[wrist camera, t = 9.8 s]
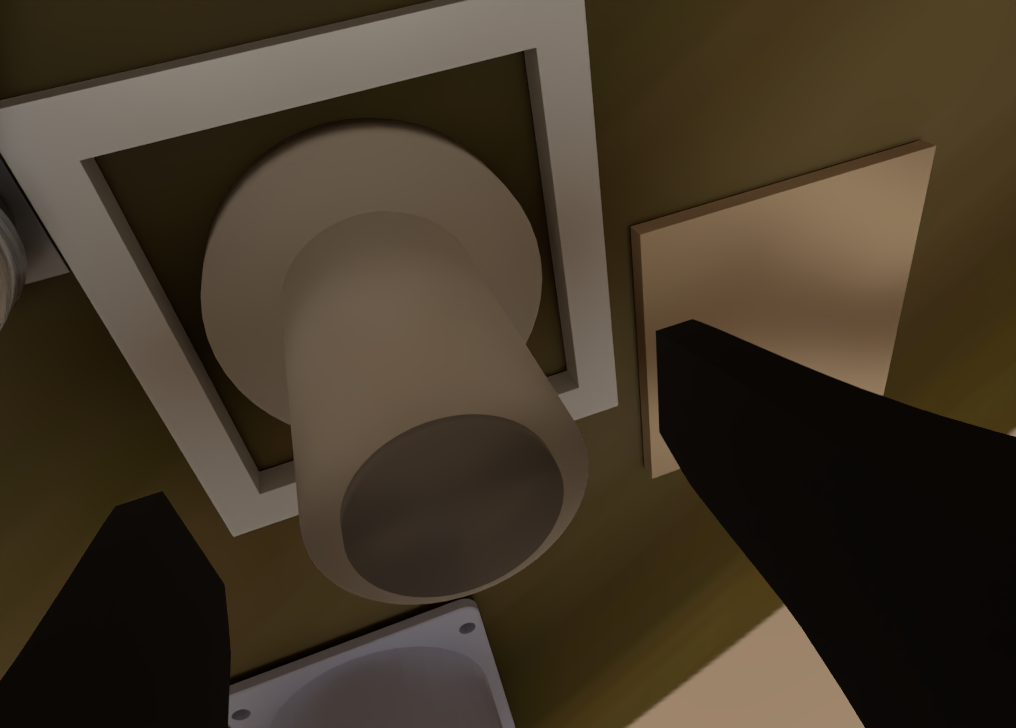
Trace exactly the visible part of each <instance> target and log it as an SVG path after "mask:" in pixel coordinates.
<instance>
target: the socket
mask: <svg viewBox="0 0 1016 728" xmlns="http://www.w3.org/2000/svg"><path fill="white" fill-rule="evenodd" d="M520 51H524V56H525V64H526V71H527V78H528V86H529V93H530V101H531V108H532V115H533V123H534V130H535V137H536V145H537V152H538V160H539V167H540V174H541V182H542V189H543V196H544V204H545V211H546V218H547V226H548V233H549V241H550V248H551V255H552V263H553V270H554V277H555V285H556V292H557V300H558V307H559V314H560V322H561V329H562V336H563V344H564V351H565V358H566V366H567V371H564V372H561V373H558V374H555V375H552V376H549V377H547V379H548V380H549V382H550V383H551V385H552V387H553V388H554V390H555V391H556V393H557V394H558V396H559V398H560V399H561V401H562V402H563V404H564V405H565V407H566V409H567V410H568V412H569V413H570V415H571V416H572V418H573V420H574V421H575V420H577V419H580V418H583V417H586V416H589V415H592V414H595V413H598V412H601V411H604V410H607V409H610V408H613V407H616V406H618V397H617V385H616V373H615V361H614V349H613V337H612V325H611V313H610V301H609V289H608V278H607V266H606V254H605V242H604V230H603V218H602V206H601V194H600V182H599V170H598V158H597V146H596V134H595V122H594V110H593V98H592V86H591V74H590V62H589V50H588V38H587V26H586V15H585V3H584V0H433V1H429V2H425V3H420V4H416V5H412V6H407V7H403V8H399V9H394V10H390V11H386V12H381V13H377V14H373V15H368V16H364V17H360V18H355V19H351V20H347V21H342V22H338V23H334V24H329V25H325V26H321V27H316V28H312V29H307V30H303V31H299V32H294V33H290V34H286V35H281V36H277V37H273V38H268V39H264V40H260V41H255V42H251V43H247V44H242V45H238V46H234V47H229V48H225V49H221V50H216V51H212V52H208V53H203V54H199V55H195V56H190V57H186V58H182V59H177V60H173V61H169V62H164V63H160V64H156V65H151V66H147V67H143V68H138V69H134V70H130V71H125V72H121V73H117V74H112V75H108V76H104V77H99V78H95V79H91V80H86V81H82V82H78V83H73V84H69V85H65V86H60V87H56V88H52V89H47V90H43V91H39V92H34V93H30V94H26V95H21V96H17V97H13V98H8V99H4V100H0V153H1V154H2V156H3V158H4V159H5V161H6V163H7V164H8V166H9V167H10V169H11V171H12V172H13V174H14V176H15V177H16V179H17V181H18V182H19V184H20V186H21V187H22V189H23V191H24V192H25V194H26V196H27V197H28V199H29V200H30V202H31V204H32V205H33V207H34V209H35V210H36V212H37V214H38V215H39V217H40V219H41V220H42V222H43V224H44V225H45V227H46V229H47V230H48V232H49V233H50V235H51V237H52V238H53V240H54V242H55V243H56V245H57V247H58V248H59V250H60V252H61V253H62V255H63V257H64V258H65V260H66V262H67V263H68V265H69V267H70V268H71V270H72V271H73V273H74V275H75V276H76V278H77V280H78V281H79V283H80V285H81V286H82V288H83V290H84V291H85V293H86V295H87V296H88V298H89V300H90V301H91V303H92V304H93V306H94V308H95V309H96V311H97V313H98V314H99V316H100V318H101V319H102V321H103V323H104V324H105V326H106V328H107V329H108V331H109V333H110V334H111V336H112V338H113V339H114V341H115V342H116V344H117V346H118V347H119V349H120V351H121V352H122V354H123V356H124V357H125V359H126V361H127V362H128V364H129V366H130V367H131V369H132V371H133V372H134V374H135V375H136V377H137V379H138V380H139V382H140V384H141V385H142V387H143V389H144V390H145V392H146V394H147V395H148V397H149V399H150V400H151V402H152V404H153V405H154V407H155V409H156V410H157V412H158V413H159V415H160V417H161V418H162V420H163V422H164V423H165V425H166V427H167V428H168V430H169V432H170V433H171V435H172V437H173V438H174V440H175V442H176V443H177V445H178V446H179V448H180V450H181V451H182V453H183V455H184V456H185V458H186V460H187V461H188V463H189V465H190V466H191V468H192V470H193V471H194V473H195V475H196V476H197V478H198V479H199V481H200V483H201V484H202V486H203V488H204V489H205V491H206V493H207V494H208V496H209V498H210V499H211V501H212V503H213V504H214V506H215V508H216V509H217V511H218V513H219V514H220V516H221V517H222V519H223V521H224V522H225V524H226V526H227V527H228V529H229V531H230V532H231V534H232V536H233V537H235V536H238V535H241V534H244V533H247V532H250V531H252V530H255V529H258V528H261V527H264V526H267V525H270V524H273V523H276V522H279V521H282V520H285V519H288V518H291V517H293V516H296V515H299V511H298V500H297V489H296V478H295V467H294V461H290V462H287V463H284V464H281V465H278V466H275V467H272V468H269V469H266V470H263V471H260V472H259V471H258V469H257V467H256V465H255V463H254V461H253V459H252V457H251V455H250V454H249V452H248V450H247V448H246V446H245V444H244V442H243V440H242V438H241V436H240V435H239V433H238V431H237V429H236V427H235V425H234V423H233V421H232V419H231V417H230V416H229V414H228V412H227V410H226V408H225V406H224V404H223V402H222V400H221V398H220V397H219V395H218V393H217V391H216V389H215V387H214V385H213V383H212V381H211V379H210V378H209V376H208V374H207V372H206V370H205V368H204V366H203V364H202V362H201V360H200V359H199V357H198V355H197V353H196V351H195V349H194V347H193V345H192V343H191V341H190V340H189V338H188V336H187V334H186V332H185V330H184V328H183V326H182V324H181V322H180V321H179V319H178V317H177V315H176V313H175V311H174V309H173V307H172V305H171V303H170V302H169V300H168V298H167V296H166V294H165V292H164V290H163V288H162V286H161V284H160V283H159V281H158V279H157V277H156V275H155V273H154V271H153V269H152V267H151V265H150V264H149V262H148V260H147V258H146V256H145V254H144V252H143V250H142V248H141V246H140V245H139V243H138V241H137V239H136V237H135V235H134V233H133V231H132V229H131V227H130V226H129V224H128V222H127V220H126V218H125V216H124V214H123V212H122V210H121V208H120V207H119V205H118V203H117V201H116V199H115V197H114V195H113V193H112V191H111V189H110V188H109V186H108V184H107V182H106V180H105V178H104V176H103V174H102V172H101V170H100V169H99V167H98V165H97V163H96V161H95V159H94V157H96V156H100V155H104V154H108V153H112V152H116V151H120V150H124V149H128V148H132V147H136V146H140V145H144V144H148V143H153V142H157V141H161V140H165V139H169V138H173V137H177V136H181V135H185V134H189V133H193V132H197V131H201V130H205V129H209V128H213V127H217V126H221V125H225V124H229V123H233V122H237V121H241V120H245V119H249V118H253V117H257V116H262V115H266V114H270V113H274V112H278V111H282V110H286V109H290V108H294V107H298V106H302V105H306V104H310V103H314V102H318V101H322V100H326V99H330V98H334V97H338V96H342V95H346V94H350V93H354V92H358V91H362V90H366V89H371V88H375V87H379V86H383V85H387V84H391V83H395V82H399V81H403V80H407V79H411V78H415V77H419V76H423V75H427V74H431V73H435V72H439V71H443V70H447V69H451V68H455V67H459V66H463V65H467V64H471V63H475V62H480V61H484V60H488V59H492V58H496V57H500V56H504V55H508V54H512V53H516V52H520Z"/></svg>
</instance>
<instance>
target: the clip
mask: <svg viewBox="0 0 1016 728" xmlns="http://www.w3.org/2000/svg"><path fill="white" fill-rule="evenodd" d="M26 275H27V260H26V255H25V250H24V247H23V244H22V241H21V238H20V236H19V234H18V232H17V231H16V229H15V227H14V225H13V224H12V222H11V221H10V220H9V218H8V217H7V215H6V214H5V213H4V212H3V211H2V210H1V208H0V330H1V329H2V327H3V325H4V323H5V322H6V320H7V318H8V316H9V314H10V313H11V311H12V309H13V307H14V306H15V304H16V302H17V300H18V299H19V297H20V295H21V293H22V291H23V288H24V285H25V281H26Z"/></svg>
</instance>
